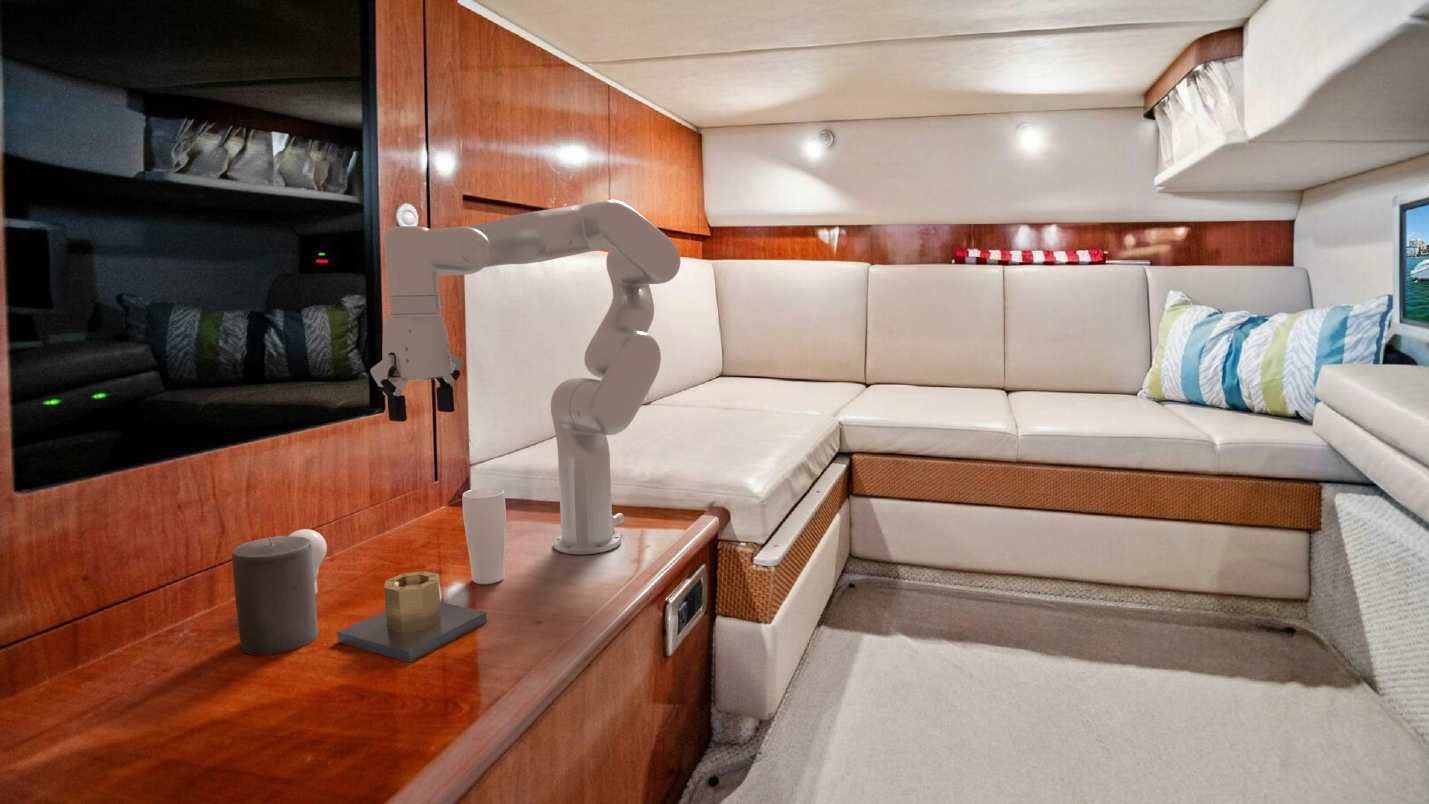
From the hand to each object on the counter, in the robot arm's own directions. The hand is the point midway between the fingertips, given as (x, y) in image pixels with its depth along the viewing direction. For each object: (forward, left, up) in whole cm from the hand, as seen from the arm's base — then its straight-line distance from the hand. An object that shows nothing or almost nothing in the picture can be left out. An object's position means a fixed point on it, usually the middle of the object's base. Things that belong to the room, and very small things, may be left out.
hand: (422, 416), depth 125 cm
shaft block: (+14, +11, -28) cm, 33 cm away
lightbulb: (+12, -15, -28) cm, 34 cm away
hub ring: (+14, +11, -27) cm, 32 cm away
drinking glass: (-6, +6, -28) cm, 30 cm away
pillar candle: (+24, -4, -28) cm, 37 cm away
